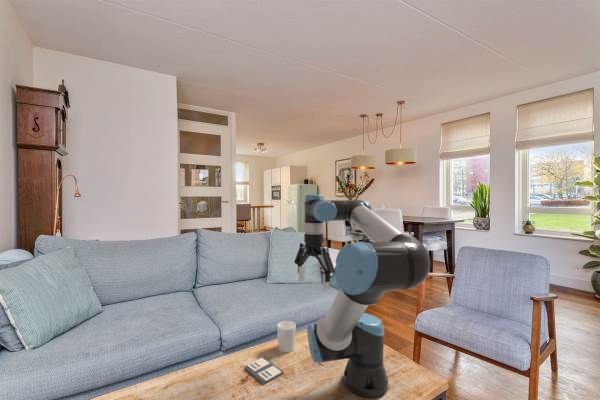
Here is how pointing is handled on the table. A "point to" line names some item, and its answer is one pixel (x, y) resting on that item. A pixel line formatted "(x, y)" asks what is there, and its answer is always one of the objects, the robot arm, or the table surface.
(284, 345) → the white cup
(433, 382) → the table surface
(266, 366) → the label board
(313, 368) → the table surface
